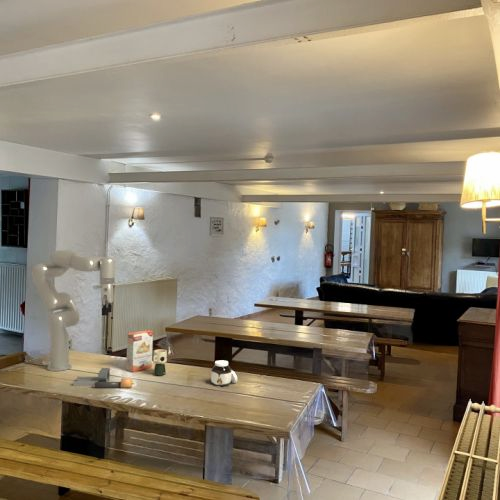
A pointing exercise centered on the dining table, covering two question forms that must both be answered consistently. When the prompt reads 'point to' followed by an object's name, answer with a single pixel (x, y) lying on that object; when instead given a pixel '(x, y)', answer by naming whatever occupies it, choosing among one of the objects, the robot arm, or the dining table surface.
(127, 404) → the dining table surface
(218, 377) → the spread jar
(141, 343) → the cracker box
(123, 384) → the grey and orange rod
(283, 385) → the dining table surface
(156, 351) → the character mug
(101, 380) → the tunnel block
